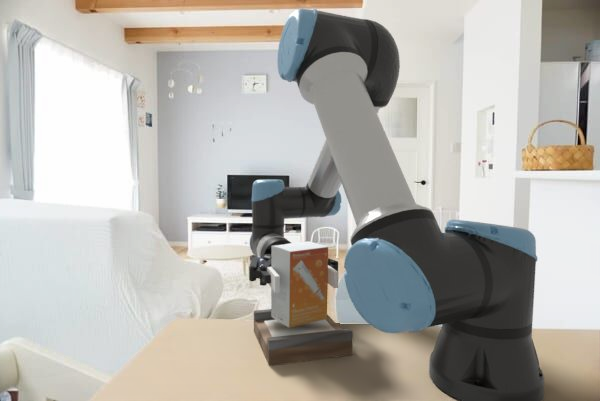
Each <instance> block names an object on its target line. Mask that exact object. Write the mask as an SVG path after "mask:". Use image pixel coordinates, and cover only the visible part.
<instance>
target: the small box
mask: <svg viewBox="0 0 600 401" xmlns="http://www.w3.org/2000/svg"><path fill="white" fill-rule="evenodd" d="M328 258H329V246H327V245H323V244H320V243H317V242H312V241H309V240H308V241H307V240H306V241H300V242H291V243H289V244H283V245H275V246H271V267H272V268H273V269H274V270H275V271H276V273H277V274H278V275H279V276H280V293H275V292H274V291H273V289H272V288H271V287H270V288H271V289H270V290H271V293H270V297H271V298H270V299H271V300H270V301H271V302H270V304H271V306H270V307H271V308H270V309H271V317H272V318H274V319H275V320H277V321H279V322H280V323H282V324H284V325H285V326H287V327H289V328H291V327H294V326H298V325H302V324H306V323H311V322H315V321H319V320H325V319H327V315H328V285H329V284H328Z"/></svg>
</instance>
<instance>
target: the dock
mask: <svg viewBox="0 0 600 401" xmlns="http://www.w3.org/2000/svg"><path fill="white" fill-rule="evenodd" d="M253 333H254V335H255V338H256V340H257V342H258V344H259V347H260V348H261V351H262V353H263V356H264V358H265V360H266V363H267V365H268V366H277V365H283V364H284V365H285V364H291V363H299V362H305V361H306V362H308V361H314V360H322V359H323V360H324V359H329V358H337V357H345V356H347V357H348V356H353V344H354V343H353V337H354V336H353V334H354V332H353V330H352V329H351V328H344V329H342V328H341V327H340V326H339V325H338V324H337V323H336V321H335V320H333V319H332V317H330V316H329V315H328V314H327V319H325V320H319V321H315V322H311V323H306V324H302V325H298V326H294V327H291V328H289V327H287V326H285V325H284V324H282V323H280V322H279V321H277V320H275V319H274V318H272V317H271V308H268V309H261V310H260V309H258V310H253Z"/></svg>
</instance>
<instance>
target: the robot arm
mask: <svg viewBox="0 0 600 401" xmlns="http://www.w3.org/2000/svg"><path fill="white" fill-rule="evenodd" d="M397 45H398V44H397V43H396V41H395V38H394V37H393V35H392V33H391V32H390V31H389V30H388V29H387V28H386V27H385V26H383V24H381V23H379V22H377V21H374V20H370V19H364V18H357V17H354V16H353V17H351V16H348V15H347V16H346V15H342V14H336V13H332V12H327V11H321V10H318V9H316V8H314V9H309V8H308V9H307V8H298V9H296V10H294V11H292V13H290V15H289V16H288V18H287V20H286V22H285V24H284V26H283V28H282V30H281V34H280V39H279V43H278V49H277V71H278V74H279V77H280V78H281V79H282V80H284V81H287V82H288V83H292V82H295V83H296V84H297V87H298V89H299V93H300V96H301V97H302V98H303V100H305V101H306V102H307V103H309V104H311V105H314V108H315V111H316V114H317V116H318V119H319V122H320V125H321V128H322V131H323V133H324V137H325V140H324V143H323V146H322V148H321V151H320V152H319V155H318V157H317V159H316V163H315V164H314V167H313V169H312V171H311V174H310V176H309V179H308V180H307V183H306V185H305V186H285V183H284V182H285V181H283V179H270V178H268V179H256V180H255V181H253V183H252V188H251V199H250V200H251V219H252V220H251V221H252V224H251V225H252V226H251V235H250V237H249V247H250V251H251V252H252V254H253V255H250V256H249V267H248V280H249V281H250V282H256V281H257V279H258V280H259V285H260V286H263V287H264V286H267V284H268V286H269V287H270V288H272V289H273V291H274V292H275V293H280V276H279V275H278V274H277V273H276V271H275V270H274V269H273V268H272V267H271V246H275V245H283V244H289V243H292V242H291V241H289V240H288V238H286V237H285V219H286V220H287V219H300V218H301V219H302V218H325V217H330V216H332V217H333V216H335V215H337V214H338V213H339V211H340V210H341V203H342V195H341V192H340V188H341V186H342V187H343V190H344V194H345V196H346V199H347V202H348V204H349V207H350V211H351V214H352V216H353V218H354V222H355V224H356V226H355V229H354V231H353V232H352V234H351V236H350V239H349V240H350V244H351V246H350V247H349V249H348V250H347V253H346V255H345V258H344V263H343V268H344V269H345V273H344V275H343V276H344V282H345V287H346V291H347V294H348V295H349V298H350V301H351V303H352V304H353V307H354V309H356V311H357V312H358V314H359V315H360V316H361V318H362V319H363V320H364V321H365V322H366V323H367V324H369V325H371V326H372V327H374V328H375V329H377V331H380V332H384V333H386V334H398V333H399V334H400V333H406V332H409V333H418V332H421V331H423V330H425V329H427V328H430V327H431V328H432V327H435V326H440V325H442V326H441V329H440V331H439V333H438V336H437V338H436V341H435V344H434V347H433V350H432V352H431V353H430V355H429V362H428V364H429V365H428V372H429V373H428V374H429V378H430V380H431V381H432V383H433V384H434V385H435V386H436V387H437V388H439V389H440V390H441V391H442V392H444V393H445V394H447V395H449V396H451V397H453V398H454V399H457V400H459V401H542V400H543V399H544V395H545V394H544V392H545V376H544V373H543V370H542V369H541V367H540V362H539V358H538V353H537V350H536V347H535V343H534V340H533V320H534V318H533V317H534V304H535V303H534V299H535V286H536V285H535V284H536V282H535V281H536V266H537V264H536V263H537V262H538V256H537V247H536V246H537V242H536V237H535V235H534V234H533V232H531V231H530V230H529V229H525V228H523V227H522V228H521V227H515V226H509V225H504V224H503V225H501V224H495V223H494V224H493V223H485V222H480V221H472V220H462V219H449V220H448V221H447V222H446V225H445V227H444V232H442V230H441V228H440V226H439V224H438V221H437V219H436V217H435V214H434V213H433V211H432V209H430V208H428V207H426V206H423V205H420V204H417V203H416V201H415V198H414V195H413V194H412V192H411V189H410V186H409V184H408V182H407V180H406V177H405V175H404V172H403V170H402V168H401V165H400V163H399V162H398V159H397V156H396V155H395V152H394V150H393V148H392V145H391V143H390V141H389V138H388V136H387V134H386V132H385V129H384V127H383V124H382V122H381V120H380V117H379V115H378V113H379V110H381V109H383V108H386V107H387V106H388V104H389V102H390V100H391V98H392V96H393V95H394V92H395V91H396V88H397V84H398V80H399V76H400V66H401V65H400V63H401V61H400V53H399V49H398V46H397ZM328 285H329V286H331V287H332V288H334V289H339V261H338V260H335V259H332V258H329V257H328Z"/></svg>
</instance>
